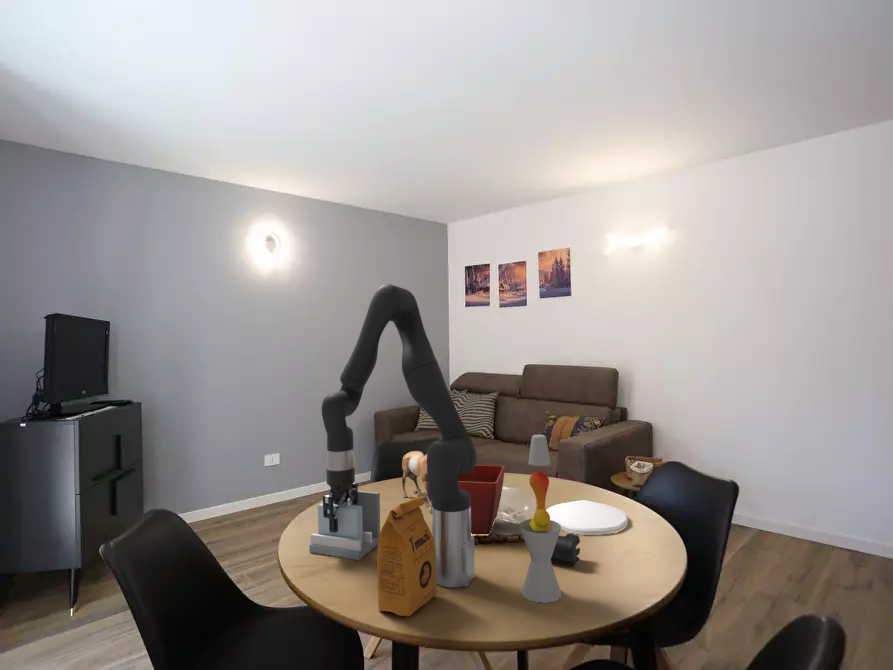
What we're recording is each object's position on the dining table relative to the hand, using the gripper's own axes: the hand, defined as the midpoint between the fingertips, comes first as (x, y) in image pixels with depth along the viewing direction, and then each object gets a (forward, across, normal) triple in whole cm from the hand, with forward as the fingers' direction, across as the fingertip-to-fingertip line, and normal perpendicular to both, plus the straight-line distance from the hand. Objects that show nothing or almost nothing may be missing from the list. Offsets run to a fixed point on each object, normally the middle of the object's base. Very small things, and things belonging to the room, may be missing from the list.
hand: (341, 527), depth 140 cm
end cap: (+7, +12, -56) cm, 58 cm away
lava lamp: (+6, -6, -55) cm, 56 cm away
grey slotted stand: (+6, +2, 0) cm, 7 cm away
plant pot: (+7, +26, -28) cm, 39 cm away
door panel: (+4, 0, 0) cm, 4 cm away
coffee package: (+6, -20, -29) cm, 36 cm away
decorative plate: (+7, +44, -60) cm, 75 cm away
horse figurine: (+7, +46, -6) cm, 47 cm away
